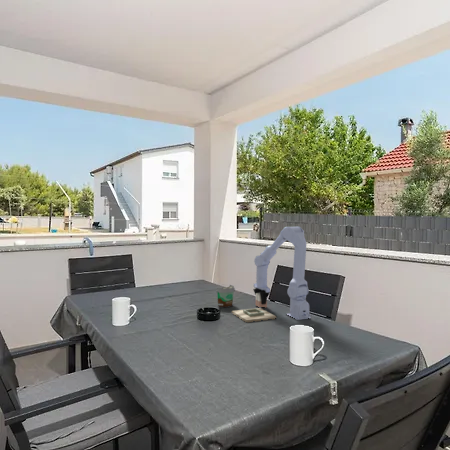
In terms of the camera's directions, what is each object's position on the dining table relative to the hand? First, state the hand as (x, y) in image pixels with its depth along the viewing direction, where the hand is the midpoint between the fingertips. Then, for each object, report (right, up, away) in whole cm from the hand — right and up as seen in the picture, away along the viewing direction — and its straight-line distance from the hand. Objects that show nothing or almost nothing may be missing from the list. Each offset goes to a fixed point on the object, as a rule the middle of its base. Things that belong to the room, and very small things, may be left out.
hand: (261, 303), depth 193 cm
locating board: (-6, -3, -18) cm, 19 cm away
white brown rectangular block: (0, -2, 0) cm, 2 cm away
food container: (-18, -2, +1) cm, 18 cm away
